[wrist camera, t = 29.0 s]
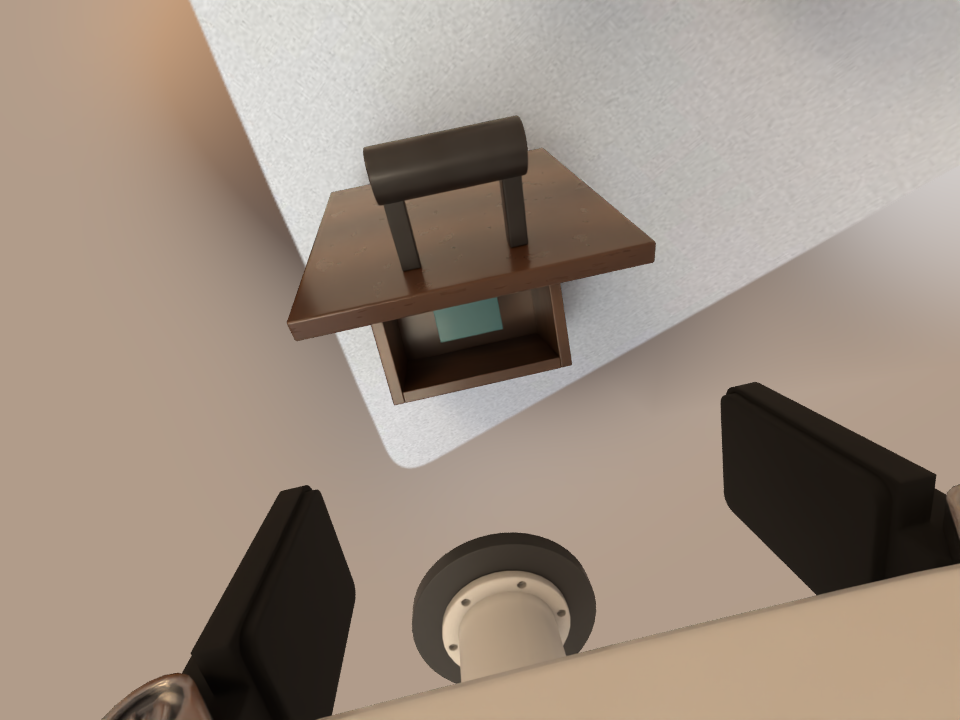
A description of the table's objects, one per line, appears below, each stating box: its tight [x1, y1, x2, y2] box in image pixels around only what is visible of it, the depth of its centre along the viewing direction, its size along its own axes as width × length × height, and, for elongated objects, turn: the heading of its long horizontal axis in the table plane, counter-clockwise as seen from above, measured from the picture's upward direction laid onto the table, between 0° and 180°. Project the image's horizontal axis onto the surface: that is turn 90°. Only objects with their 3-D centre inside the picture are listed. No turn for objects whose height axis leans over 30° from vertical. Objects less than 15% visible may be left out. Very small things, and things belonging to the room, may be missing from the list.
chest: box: [371, 283, 572, 405], centre depth 33 cm, size 14×13×8 cm
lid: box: [287, 115, 656, 341], centre depth 20 cm, size 14×13×5 cm
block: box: [433, 297, 503, 343], centre depth 34 cm, size 5×5×5 cm
